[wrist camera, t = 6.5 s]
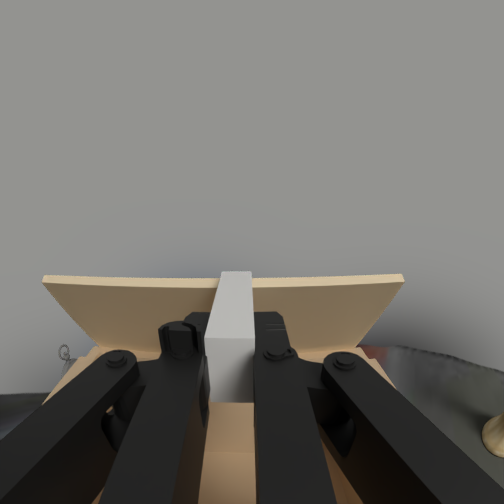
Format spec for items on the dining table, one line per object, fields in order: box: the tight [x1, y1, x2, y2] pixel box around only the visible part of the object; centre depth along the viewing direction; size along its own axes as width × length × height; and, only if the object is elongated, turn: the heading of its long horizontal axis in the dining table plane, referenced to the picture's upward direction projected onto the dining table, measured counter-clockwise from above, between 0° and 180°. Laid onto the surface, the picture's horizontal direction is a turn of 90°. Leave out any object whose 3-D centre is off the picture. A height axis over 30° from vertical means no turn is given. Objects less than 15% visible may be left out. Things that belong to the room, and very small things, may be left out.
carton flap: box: [42, 274, 405, 353], centre depth 19 cm, size 10×23×1 cm
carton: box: [43, 346, 397, 504], centre depth 14 cm, size 21×25×14 cm
